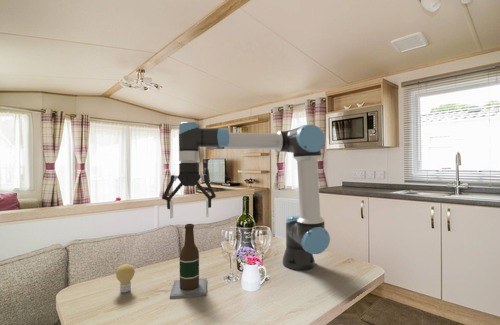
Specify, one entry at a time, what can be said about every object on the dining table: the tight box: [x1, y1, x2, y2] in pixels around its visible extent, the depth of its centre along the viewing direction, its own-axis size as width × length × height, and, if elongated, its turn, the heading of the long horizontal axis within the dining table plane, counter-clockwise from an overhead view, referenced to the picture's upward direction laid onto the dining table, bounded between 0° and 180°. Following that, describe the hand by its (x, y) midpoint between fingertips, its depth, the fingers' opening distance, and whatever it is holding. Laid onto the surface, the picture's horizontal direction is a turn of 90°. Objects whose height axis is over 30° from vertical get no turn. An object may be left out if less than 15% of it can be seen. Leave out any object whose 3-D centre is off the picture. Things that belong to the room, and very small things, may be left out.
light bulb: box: [115, 263, 136, 294], centre depth 100 cm, size 6×6×10 cm
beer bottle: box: [179, 223, 200, 291], centre depth 102 cm, size 8×8×24 cm
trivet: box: [169, 277, 208, 299], centre depth 102 cm, size 13×13×1 cm
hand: (189, 216), depth 102 cm, fingers open, 13 cm apart
